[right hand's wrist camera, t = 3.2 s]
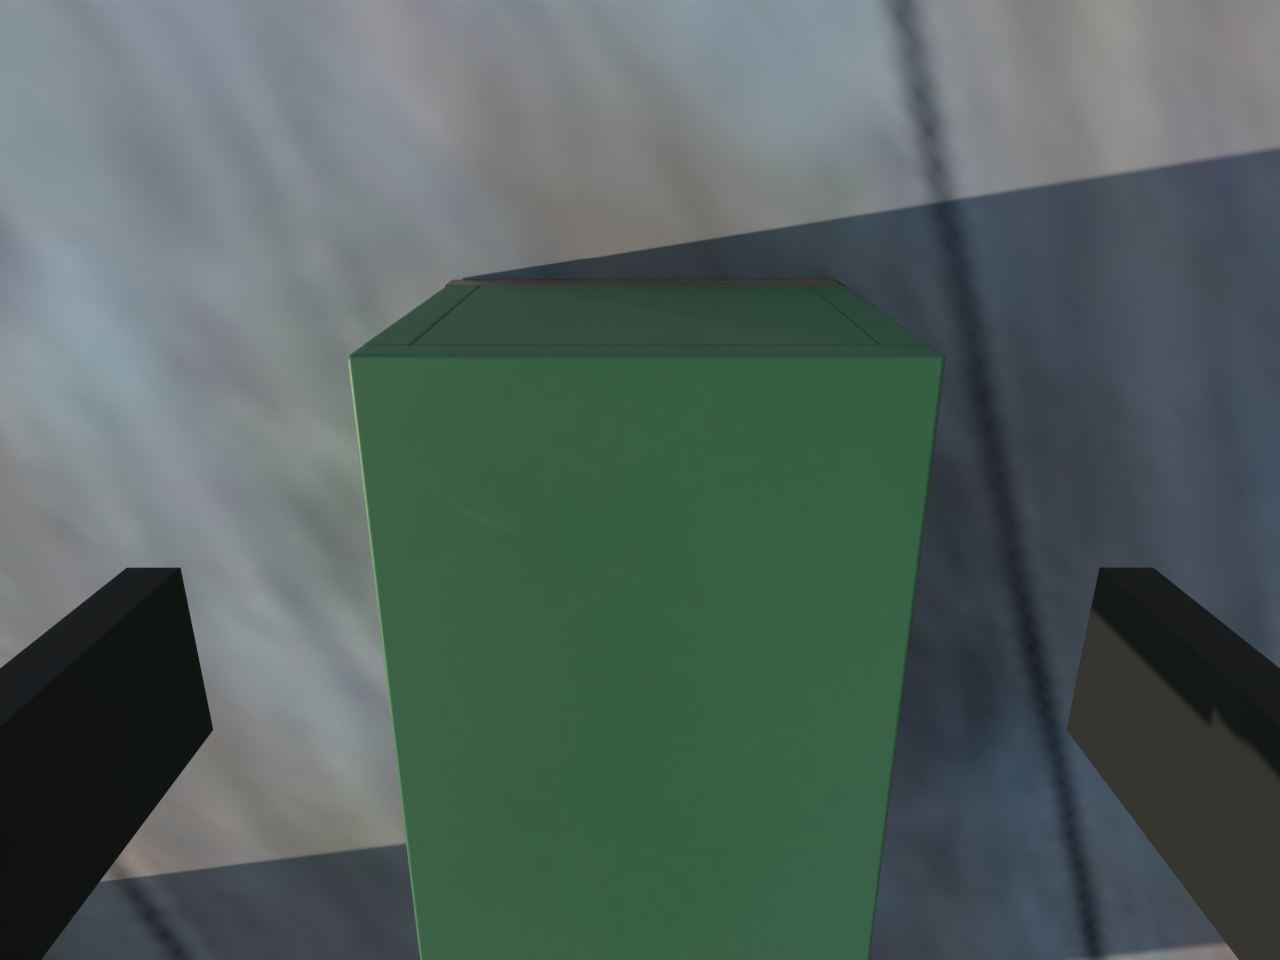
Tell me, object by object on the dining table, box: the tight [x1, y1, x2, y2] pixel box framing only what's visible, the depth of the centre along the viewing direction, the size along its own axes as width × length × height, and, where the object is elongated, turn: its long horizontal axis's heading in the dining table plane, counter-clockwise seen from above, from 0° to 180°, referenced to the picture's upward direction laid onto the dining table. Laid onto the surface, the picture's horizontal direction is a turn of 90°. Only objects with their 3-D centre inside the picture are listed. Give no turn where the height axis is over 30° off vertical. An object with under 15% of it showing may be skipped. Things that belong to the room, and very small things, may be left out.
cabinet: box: [347, 280, 945, 960], centre depth 22 cm, size 18×10×9 cm, turn 0°
